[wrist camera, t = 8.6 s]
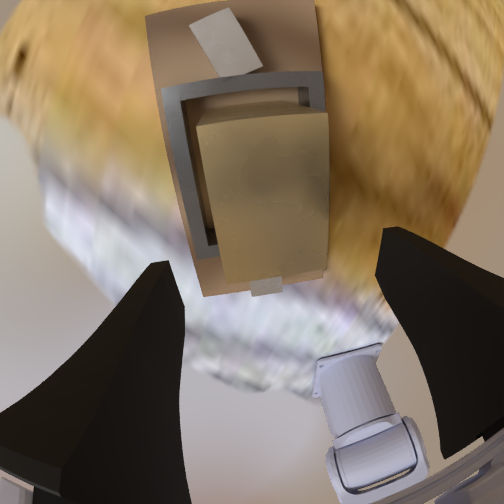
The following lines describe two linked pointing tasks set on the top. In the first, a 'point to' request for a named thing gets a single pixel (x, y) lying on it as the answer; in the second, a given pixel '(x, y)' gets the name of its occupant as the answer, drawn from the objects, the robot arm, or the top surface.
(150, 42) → the brown board
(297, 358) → the top surface
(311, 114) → the block
